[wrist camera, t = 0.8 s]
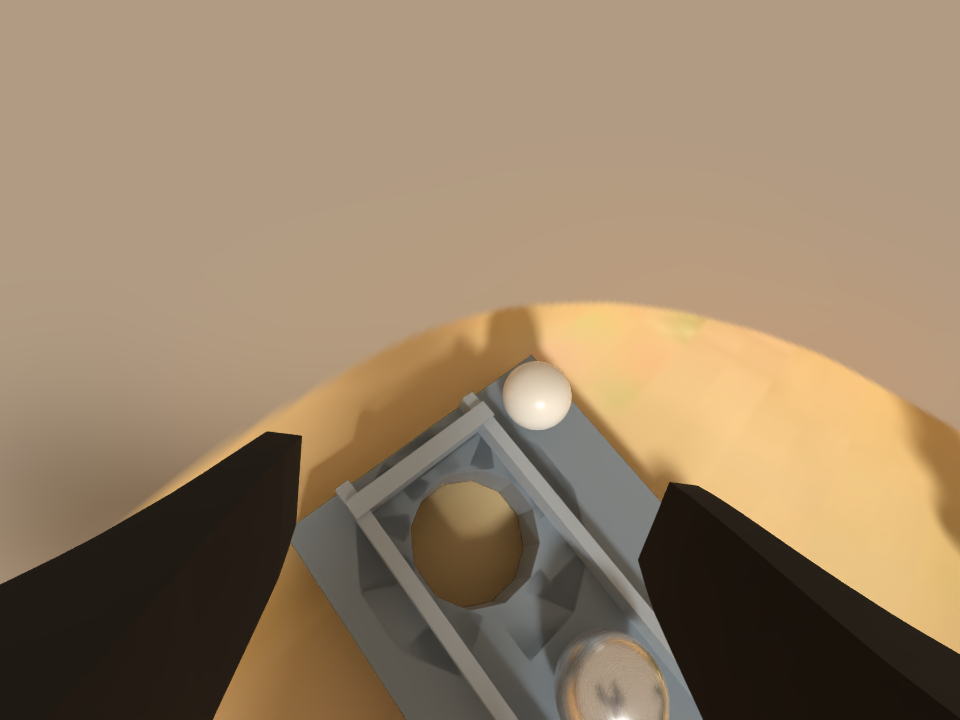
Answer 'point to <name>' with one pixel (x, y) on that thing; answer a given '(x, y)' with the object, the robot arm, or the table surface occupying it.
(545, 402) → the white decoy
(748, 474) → the table surface
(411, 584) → the grey divided tray
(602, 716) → the steel ball
